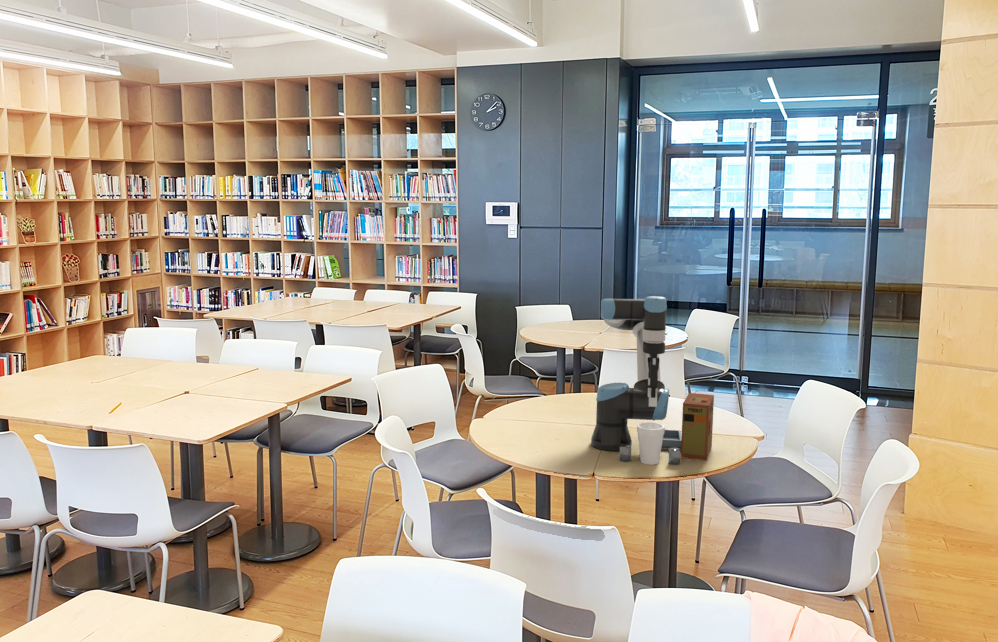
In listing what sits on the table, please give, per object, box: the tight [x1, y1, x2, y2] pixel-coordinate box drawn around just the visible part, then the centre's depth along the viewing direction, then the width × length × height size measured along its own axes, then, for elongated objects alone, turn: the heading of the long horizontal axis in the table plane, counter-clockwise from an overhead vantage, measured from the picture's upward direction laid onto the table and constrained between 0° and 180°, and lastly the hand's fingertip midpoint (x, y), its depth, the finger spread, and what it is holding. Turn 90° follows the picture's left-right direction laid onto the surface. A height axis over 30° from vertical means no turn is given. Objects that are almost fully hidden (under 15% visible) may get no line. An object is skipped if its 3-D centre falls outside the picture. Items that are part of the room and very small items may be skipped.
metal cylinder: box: [619, 445, 632, 463], centre depth 266 cm, size 4×4×5 cm
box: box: [680, 392, 715, 461], centre depth 274 cm, size 17×9×20 cm, turn 159°
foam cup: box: [636, 421, 666, 465], centre depth 263 cm, size 10×9×13 cm
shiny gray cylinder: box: [668, 448, 681, 466], centre depth 262 cm, size 4×4×5 cm
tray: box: [661, 429, 682, 450], centre depth 285 cm, size 14×14×4 cm
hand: (652, 401), depth 261 cm, fingers open, 13 cm apart
